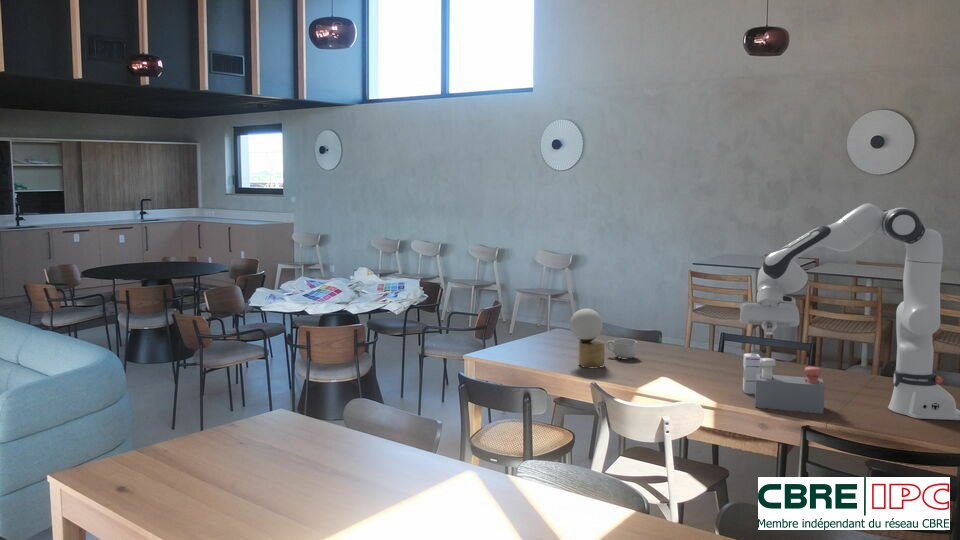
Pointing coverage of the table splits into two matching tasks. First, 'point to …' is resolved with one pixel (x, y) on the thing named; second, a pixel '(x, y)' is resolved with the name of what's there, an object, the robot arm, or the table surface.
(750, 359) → the syrup box
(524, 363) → the table surface
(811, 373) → the red plug
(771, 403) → the block
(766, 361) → the grey bulb-shaped piece
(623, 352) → the teacup
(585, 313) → the lamp
